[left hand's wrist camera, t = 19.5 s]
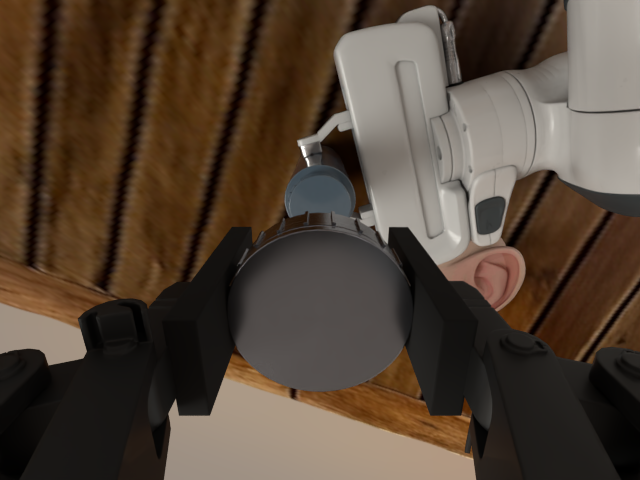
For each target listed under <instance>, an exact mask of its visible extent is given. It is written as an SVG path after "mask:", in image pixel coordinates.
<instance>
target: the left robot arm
mask: <svg viewBox="0 0 640 480" xmlns="http://www.w3.org/2000/svg"><path fill="white" fill-rule="evenodd" d="M251 246H252V230H251V227H232V228H231V229H230V230H229V232H228V233H227V234H226V236H225V237H224V238H223V240H222V241H221V242H220V244H219V245H218V246H217V248H216V249H215V250H214V252H213V253H212V254H211V256H210V257H209V258H208V260H207V261H206V262H205V264H204V265H203V266H202V268H201V269H200V270H199V272H198V273H197V274H196V276H195V277H194V278H193V280H192V281H191V282H176V283H175V284H173V285H171V286H170V287H168V288H166V289H164V290H163V291H162V293H161V294H160V295H159V296H158V297H157V298H156V301H154V302H153V303H152V304H151V305H150V306H149V309H147V304H146V303H144V302H143V301H142V300H137V299H118V300H113V301H108V302H105V303H103V304H100V305H97V306H95V307H93V308H91V309H89V310H88V311H86V312H84V313H83V314H82V315H81V316H80V317H79V318H78V321H79V325H80V328H81V332H82V335H83V339H84V343H85V346H86V350H87V353H86V355H85V357H84V358H83V359H79V360H75V361H69V362H64V363H60V364H54V365H49V366H48V363H47V360H46V357H45V354H44V353H43V352H41V351H40V350H36V349H22V350H14V351H9V352H8V353H6V352H5V353H2V354H0V480H164V474H165V467H166V460H167V452H168V445H169V438H170V430H171V427H170V420H169V415H168V413H169V411H170V409H171V407H172V405H173V403H174V401H175V399H176V401H177V407H178V412H179V415H180V416H189V415H190V416H194V415H195V416H203V415H205V416H208V415H210V414H211V411H212V408H213V405H214V403H215V400H216V397H217V394H218V391H219V389H220V386H221V383H222V380H223V378H224V375H225V372H226V369H227V367H228V364H229V361H230V358H231V355H232V353H233V350H234V347H235V343H234V342H233V339H232V337H231V334H230V331H229V328H228V320H227V310H226V305H227V297H228V293H229V285H230V283H231V281H232V279H233V277H234V275H235V273H236V271H237V269H239V267H238V266H237V265H238V263H239V261H240V259H241V257H242V256H243V254H244V252H245V250H246V248H247V249H250V247H251ZM388 246H389V247H390V249H393V248H394V250H395V252H396V254H397V255H398V257H399V259H400V261H401V263H402V265H403V266H401V269H403V271H404V273H405V275H406V277H407V279H408V281H409V282H410V284H411V292H412V297H413V303H414V313H413V322H412V328H411V331H410V334H409V337H408V339H407V342H406V344H405V346H406V349H407V352H408V355H409V358H410V360H411V363H412V366H413V369H414V371H415V374H416V377H417V380H418V383H419V385H420V388H421V391H422V394H423V396H424V399H425V402H426V405H427V407H428V410H429V413H430V416H461V413H462V408H463V403H464V397H465V398H466V400H467V402H468V404H469V406H470V408H471V410H472V415H471V420H470V425H469V430H468V435H467V440H466V446H465V453H469V454H470V449H471V446H472V451H473V459H474V466H475V473H476V480H640V352H638V351H633V350H630V349H625V348H616V347H608V348H601V349H600V350H599V351H597V352H596V355H595V358H594V361H593V364H589V363H584V362H579V361H574V360H569V359H564V358H560V357H556V356H555V354H554V352H553V351H552V349H551V348H550V347H549V346H548V345H547V344H546V343H545V342H543V341H542V340H540V339H539V338H537V337H535V336H533V335H531V334H528V333H526V332H523V331H519V330H514V329H512V328H511V327H510V326H509V325H508V324H507V323H506V322H505V321H504V319H503V318H502V317H501V316H500V315H499V314H498V313H497V311H496V310H495V309H494V308H493V307H491V305H490V303H489V302H488V301H487V300H485V298H484V297H483V295H482V294H481V293H480V292H479V291H478V290H477V289H476V288H475V287H473V286H471V285H469V284H468V283H466V282H464V281H448V279H447V278H446V277H445V275H444V274H443V273H442V271H441V270H440V269H439V267H438V266H437V265H436V263H435V262H434V261H433V259H432V258H431V257H430V255H429V254H428V253H427V251H426V250H425V249H424V247H423V246H422V245H421V243H420V242H419V241H418V240H417V238H416V237H415V236H414V234H413V233H412V232H411V230H410V229H409V228H408V227H389V233H388Z"/></svg>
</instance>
